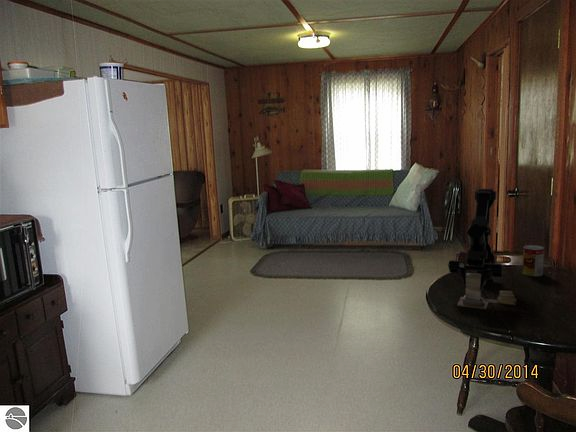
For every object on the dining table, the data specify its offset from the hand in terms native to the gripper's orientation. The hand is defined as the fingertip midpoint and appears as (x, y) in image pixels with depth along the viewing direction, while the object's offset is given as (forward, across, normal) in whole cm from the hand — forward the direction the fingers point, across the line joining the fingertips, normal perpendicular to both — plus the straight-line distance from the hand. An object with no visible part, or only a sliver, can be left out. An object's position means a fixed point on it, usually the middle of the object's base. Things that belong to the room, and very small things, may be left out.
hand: (472, 288), depth 172 cm
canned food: (-29, +19, +39) cm, 52 cm away
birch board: (+3, 0, +5) cm, 6 cm away
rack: (+2, +5, +7) cm, 9 cm away
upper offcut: (-2, +11, +8) cm, 14 cm away
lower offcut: (-1, +11, +9) cm, 15 cm away
